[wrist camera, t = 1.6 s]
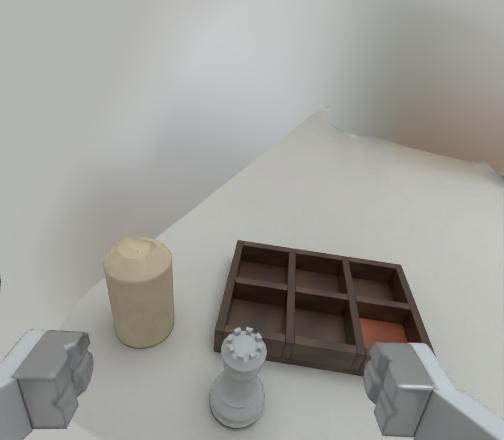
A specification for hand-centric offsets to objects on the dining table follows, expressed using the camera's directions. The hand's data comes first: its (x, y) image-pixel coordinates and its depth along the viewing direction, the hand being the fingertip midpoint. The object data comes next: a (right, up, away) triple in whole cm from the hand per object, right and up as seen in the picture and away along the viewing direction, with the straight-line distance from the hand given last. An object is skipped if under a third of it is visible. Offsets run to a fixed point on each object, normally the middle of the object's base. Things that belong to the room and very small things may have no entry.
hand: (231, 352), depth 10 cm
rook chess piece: (-1, -11, +18) cm, 22 cm away
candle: (-10, -7, +24) cm, 26 cm away
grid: (+8, -6, +27) cm, 29 cm away
